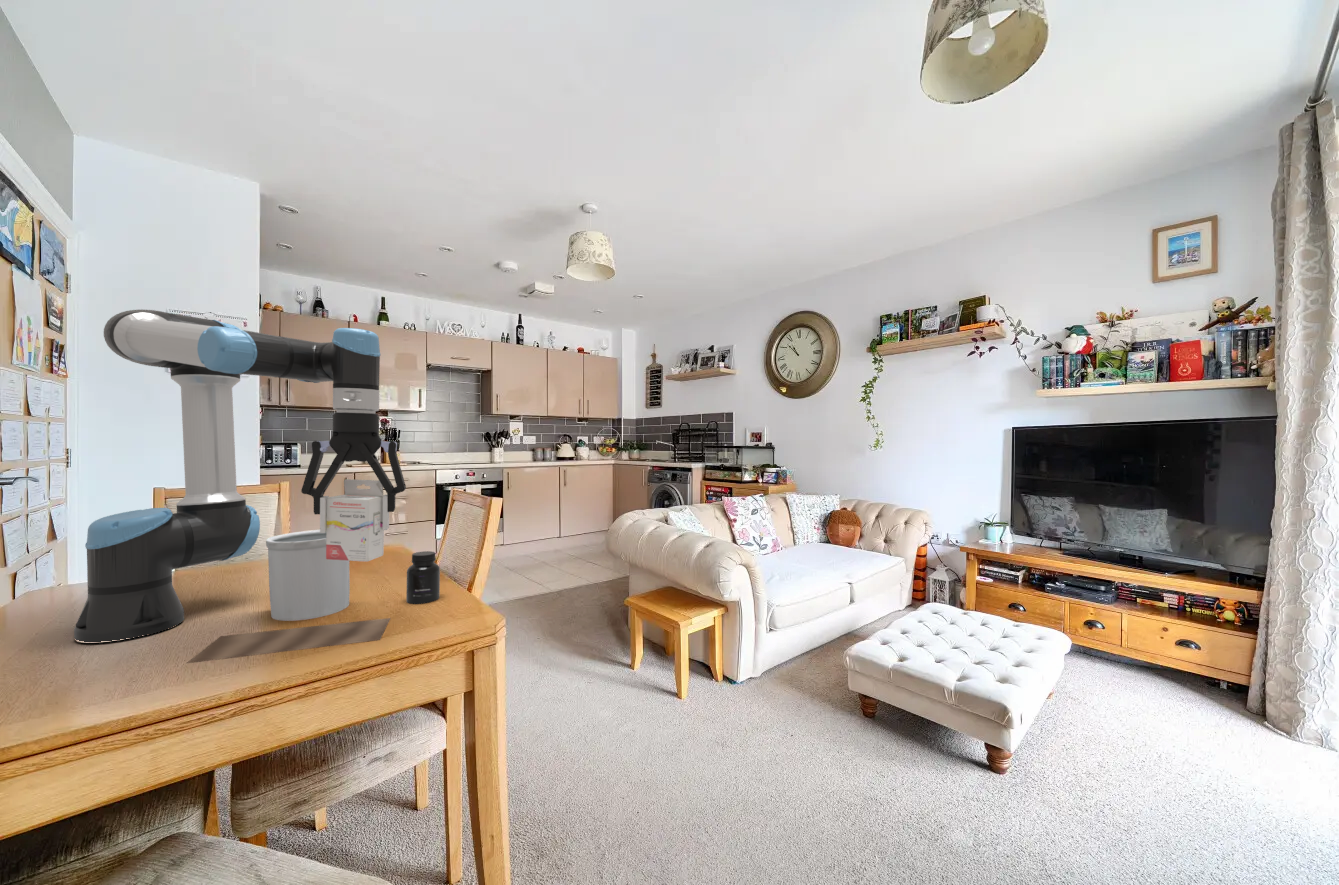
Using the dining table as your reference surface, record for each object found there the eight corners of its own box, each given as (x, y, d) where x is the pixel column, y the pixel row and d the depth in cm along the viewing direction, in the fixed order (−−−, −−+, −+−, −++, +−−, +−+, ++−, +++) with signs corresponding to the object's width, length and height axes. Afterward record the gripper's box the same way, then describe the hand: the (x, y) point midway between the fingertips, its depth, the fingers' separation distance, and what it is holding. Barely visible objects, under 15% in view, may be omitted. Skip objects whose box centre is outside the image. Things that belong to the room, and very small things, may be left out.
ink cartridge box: (324, 560, 96) (324, 481, 95) (343, 553, 101) (343, 478, 100) (368, 562, 95) (368, 482, 95) (385, 555, 100) (385, 480, 100)
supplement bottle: (418, 613, 112) (417, 558, 112) (400, 607, 116) (399, 554, 116) (446, 604, 118) (446, 552, 118) (428, 599, 122) (428, 548, 122)
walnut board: (186, 672, 84) (185, 663, 84) (220, 644, 95) (220, 636, 95) (379, 648, 94) (379, 639, 94) (390, 625, 105) (390, 617, 105)
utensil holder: (249, 623, 106) (249, 538, 106) (321, 601, 120) (320, 526, 120) (298, 633, 101) (297, 544, 101) (367, 609, 115) (366, 530, 115)
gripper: (279, 409, 90) (278, 537, 90) (419, 413, 98) (418, 530, 98) (292, 410, 97) (292, 529, 97) (422, 414, 105) (421, 524, 105)
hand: (355, 530), depth 98 cm, fingers closed on ink cartridge box, 9 cm apart
